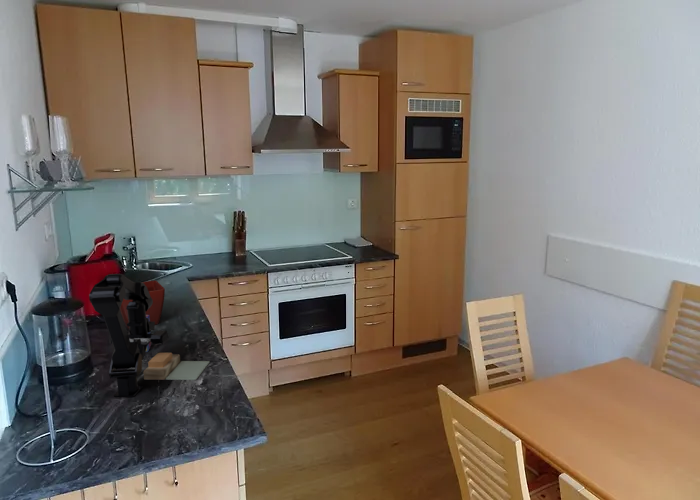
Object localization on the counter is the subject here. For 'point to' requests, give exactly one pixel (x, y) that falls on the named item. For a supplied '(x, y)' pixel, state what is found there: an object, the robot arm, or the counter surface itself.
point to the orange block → (160, 360)
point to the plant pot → (157, 305)
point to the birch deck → (162, 369)
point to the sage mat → (188, 370)
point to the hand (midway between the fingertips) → (141, 359)
